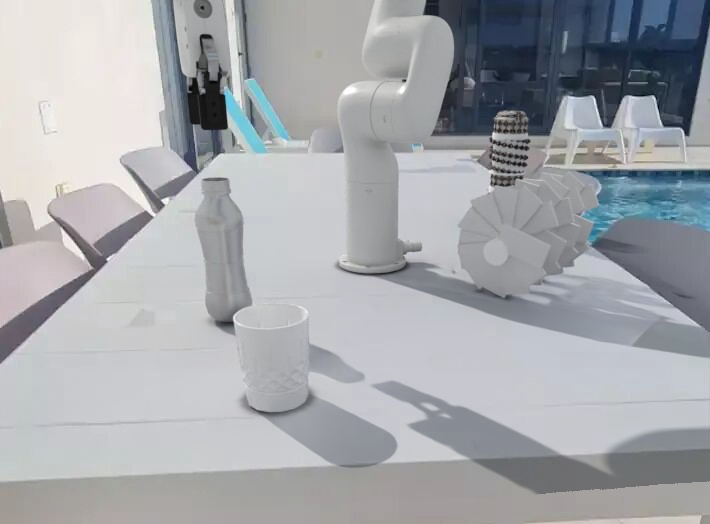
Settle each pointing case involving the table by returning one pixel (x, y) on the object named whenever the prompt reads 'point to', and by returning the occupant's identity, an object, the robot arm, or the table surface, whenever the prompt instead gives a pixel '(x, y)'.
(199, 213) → the plastic bottle
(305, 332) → the white cup
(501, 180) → the decorative candle
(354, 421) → the table surface
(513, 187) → the spiral staircase
